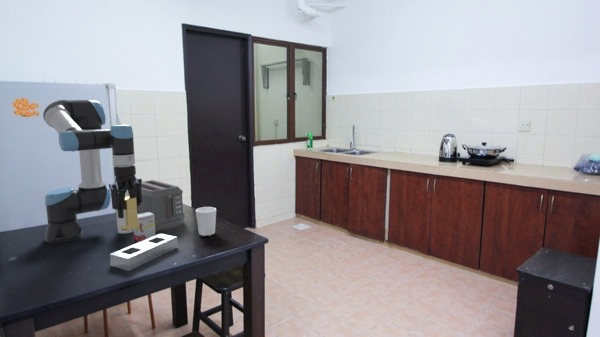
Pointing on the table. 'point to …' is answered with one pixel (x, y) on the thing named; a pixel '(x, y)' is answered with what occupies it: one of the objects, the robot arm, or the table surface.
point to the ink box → (145, 227)
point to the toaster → (162, 204)
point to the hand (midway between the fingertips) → (129, 223)
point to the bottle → (119, 220)
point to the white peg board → (143, 251)
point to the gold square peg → (130, 213)
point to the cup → (206, 220)
